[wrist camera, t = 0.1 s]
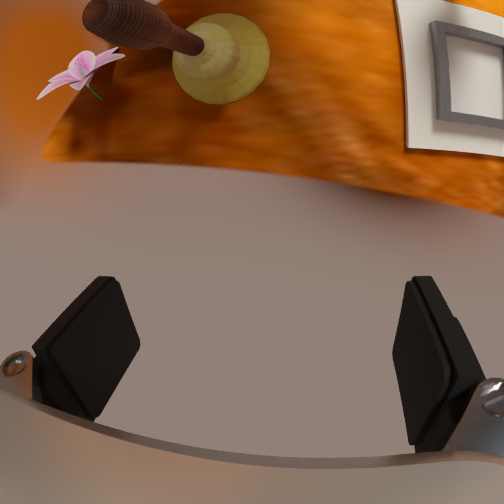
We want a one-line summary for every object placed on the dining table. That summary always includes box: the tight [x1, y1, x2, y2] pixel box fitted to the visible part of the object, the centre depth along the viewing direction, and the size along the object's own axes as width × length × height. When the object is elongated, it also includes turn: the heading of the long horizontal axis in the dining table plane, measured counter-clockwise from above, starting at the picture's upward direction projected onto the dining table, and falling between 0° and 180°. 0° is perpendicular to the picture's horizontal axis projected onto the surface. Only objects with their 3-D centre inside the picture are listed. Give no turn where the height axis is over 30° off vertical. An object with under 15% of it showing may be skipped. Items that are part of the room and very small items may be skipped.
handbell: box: [82, 0, 270, 104], centre depth 22 cm, size 12×12×25 cm
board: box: [395, 0, 504, 157], centre depth 28 cm, size 20×20×1 cm
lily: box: [37, 47, 125, 100], centre depth 33 cm, size 12×12×10 cm
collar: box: [429, 20, 504, 129], centre depth 26 cm, size 12×12×2 cm
